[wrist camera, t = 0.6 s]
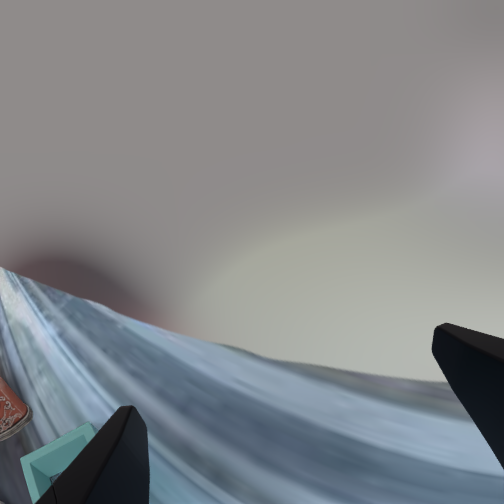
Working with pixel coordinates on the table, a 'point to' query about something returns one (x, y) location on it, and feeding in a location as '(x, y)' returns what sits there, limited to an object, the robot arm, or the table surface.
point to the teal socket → (54, 459)
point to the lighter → (12, 412)
